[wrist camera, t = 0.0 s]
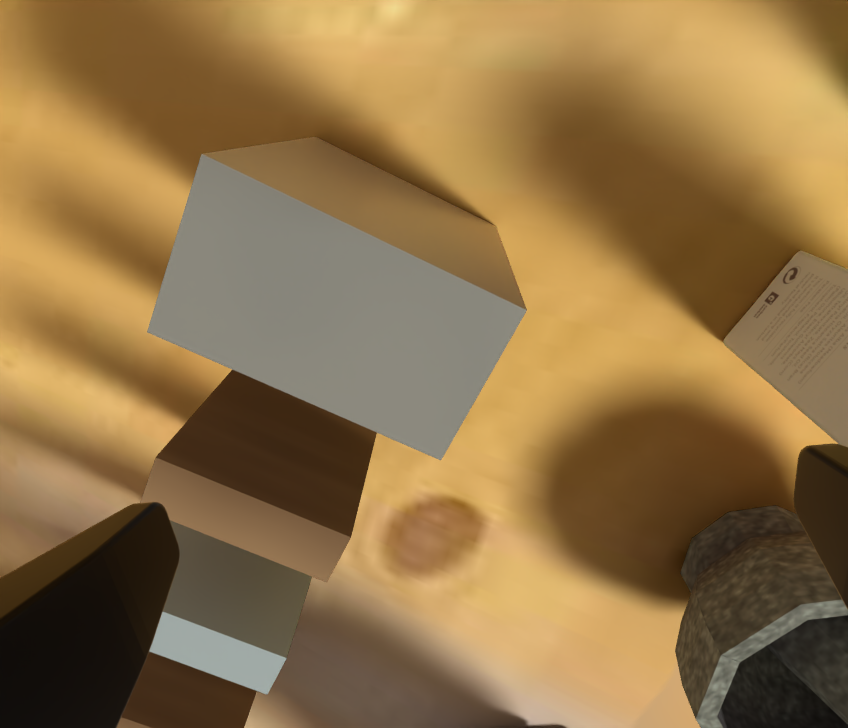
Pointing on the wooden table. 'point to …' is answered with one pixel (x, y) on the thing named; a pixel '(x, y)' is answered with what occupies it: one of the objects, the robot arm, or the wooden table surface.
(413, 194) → the bookend
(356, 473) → the domino
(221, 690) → the domino
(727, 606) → the mortar and pestle
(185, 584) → the domino
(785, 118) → the wooden table surface
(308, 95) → the wooden table surface
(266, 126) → the wooden table surface
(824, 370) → the skincare box
